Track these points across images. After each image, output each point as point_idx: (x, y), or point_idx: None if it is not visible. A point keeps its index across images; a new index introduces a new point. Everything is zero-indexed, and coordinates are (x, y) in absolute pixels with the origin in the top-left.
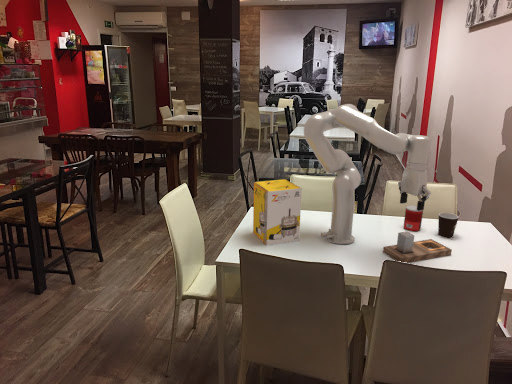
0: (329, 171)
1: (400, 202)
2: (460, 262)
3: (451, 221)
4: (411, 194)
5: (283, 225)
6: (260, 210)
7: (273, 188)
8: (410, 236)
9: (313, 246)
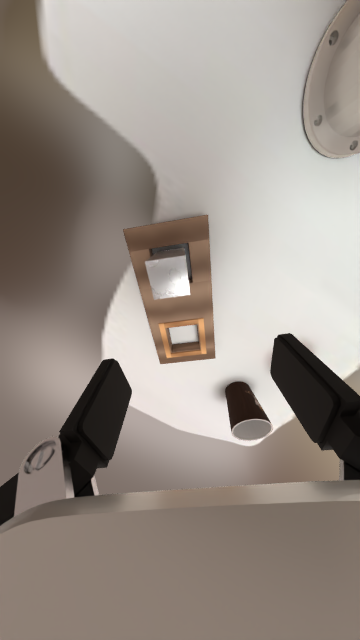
0: None
1: (287, 336)
2: (131, 353)
3: (232, 420)
4: (117, 499)
5: None
6: None
7: None
8: (150, 283)
9: None
